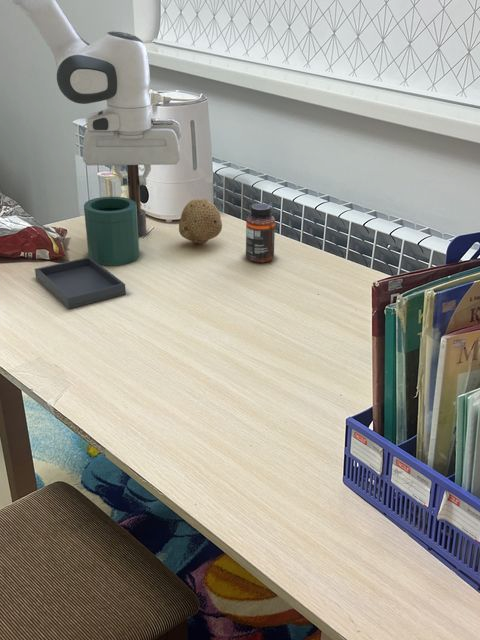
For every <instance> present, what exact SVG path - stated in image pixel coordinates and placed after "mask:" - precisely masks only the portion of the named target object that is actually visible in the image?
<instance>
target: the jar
mask: <svg viewBox="0 0 480 640" xmlns="http://www.w3.org/2000/svg"><path fill="white" fill-rule="evenodd" d="M83 212H84V222H85V233H86V242H87V253H88V257H90V258H92V259H93V260H94V261H96V262H97V263H98V264H100V265H101V266H107V267H108V266H110V267H111V266H114V267H115V266H123V265H127V264H131V263H133V262H135V261H136V260H138V259H139V257H140V244H139V243H140V242H139V241H140V239H139V237H138V222H137V204H136V202H135V201H133V200H131V199H129V197H128V198H127V197H124V196H101V197H95V198H92V199H90V200H87V201H86V202H85V203H84V204H83Z"/></svg>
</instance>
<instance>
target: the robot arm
mask: <svg viewBox="0 0 480 640" xmlns="http://www.w3.org/2000/svg"><path fill="white" fill-rule="evenodd" d="M8 1H9V2H11V3H13V4H14V5H16V6H17V7H18V8H19V9H20V10H21V11H22V12H23V13H24V15H26V17H28V18H29V20H30V21H31V23H32V24H33V26H34V27H35V29H36V30H37V31H38V34H40V36H41V37H42V39H43V40H44V42H45V44H46V45H47V46H48V47H49V50H51V52H52V54H53V57H54V59H55V64H56V68H57V70H56V82H57V86H58V88H59V90H60V92H61V93H62V94H63V96H64V97H65V98H66V99H68V100H69V101H71V102H73V103H76V104H79V105H87V104H94V103H99V102H103V101H106V108H104V109H100V110H97V111H94V112H91V113H89V114H88V115H87V117H86V118H85V119H86V121H85V124H86V129H85V131H84V135H83V141H82V161H83V163H84V164H85V165H86V166H114V167H113V168H114V172H115V173H116V174H117V176H118V178H120V186H122V187H123V186H128V175H124V174H123V172H122V171H121V170H122V166H127V165H138V166H143V167H144V168H143V170H144V172H143V174H139V186H147V178H148V176H149V174H150V173H151V170H152V166H165V165H166V166H170V165H173V166H174V165H178V164H179V162H180V161H181V153H180V143H179V140H180V139H181V137H182V128H181V125H180V123H179V122H177V121H176V120H174V119H173V118H152V101H151V98H150V94H149V88H150V85H151V75H150V74H151V71H150V63H149V62H150V61H149V55H148V49H147V46H146V43H144V41H143V40H142V39H141V38H139V37H138V36H136V35H133V34H131V33H127V32H121V31H114V30H113V31H108V32H106V33H105V35H103V36H102V37H101V38H99V39H97V40H96V41H94V42H92V43H88V42H87V41H86V40H84V39H83V38H82V37H81V36H80V35H79V33H78V32H77V31H76V29H75V28H74V26H73V25H72V23H71V22H70V20H69V18H68V17H67V15H66V13H65V12H64V11H63V10H62V8H61V6H60V5H59V3H58V1H57V0H8Z"/></svg>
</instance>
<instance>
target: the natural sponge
mask: <svg viewBox="0 0 480 640" xmlns="http://www.w3.org/2000/svg"><path fill="white" fill-rule="evenodd" d="M222 230H223V222H222V219H221V214H220V211H219V209H218V208H217V206H216V205H215V204H214V203H212V201H210V200H208V199H207V198H194V199H191V200H190V201H189V202H187V203H186V204H185V206H184V208H183V210H182V212H181V215H180V219H179V224H178V232H179V234H180V236H181V237H182V238H184V239H186V240H188V241H190V242H192V243H194V244H198V245H203V244H206V243H207V242H208V241H209V240H211V239H215V238H216V237H217V236H219V235H220V233H221V231H222Z"/></svg>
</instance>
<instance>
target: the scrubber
mask: <svg viewBox="0 0 480 640" xmlns="http://www.w3.org/2000/svg"><path fill="white" fill-rule="evenodd" d="M139 168H140V167H139V165H126V172H127V175H126V176H127V181H128V185H127V188H128V189H127V190H128V191H127V192H128V199H131V200H133V201H135V202H136V204H137V222H138V238H140V237H141V238H142V237H144V236H146V235H147V219H146V218H147V217H146V216H147V215H146V211H145V210H144V209H142V207H141V205H142V204H141V188H140V187H141V186H140V184H139V175H140V171H139Z"/></svg>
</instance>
